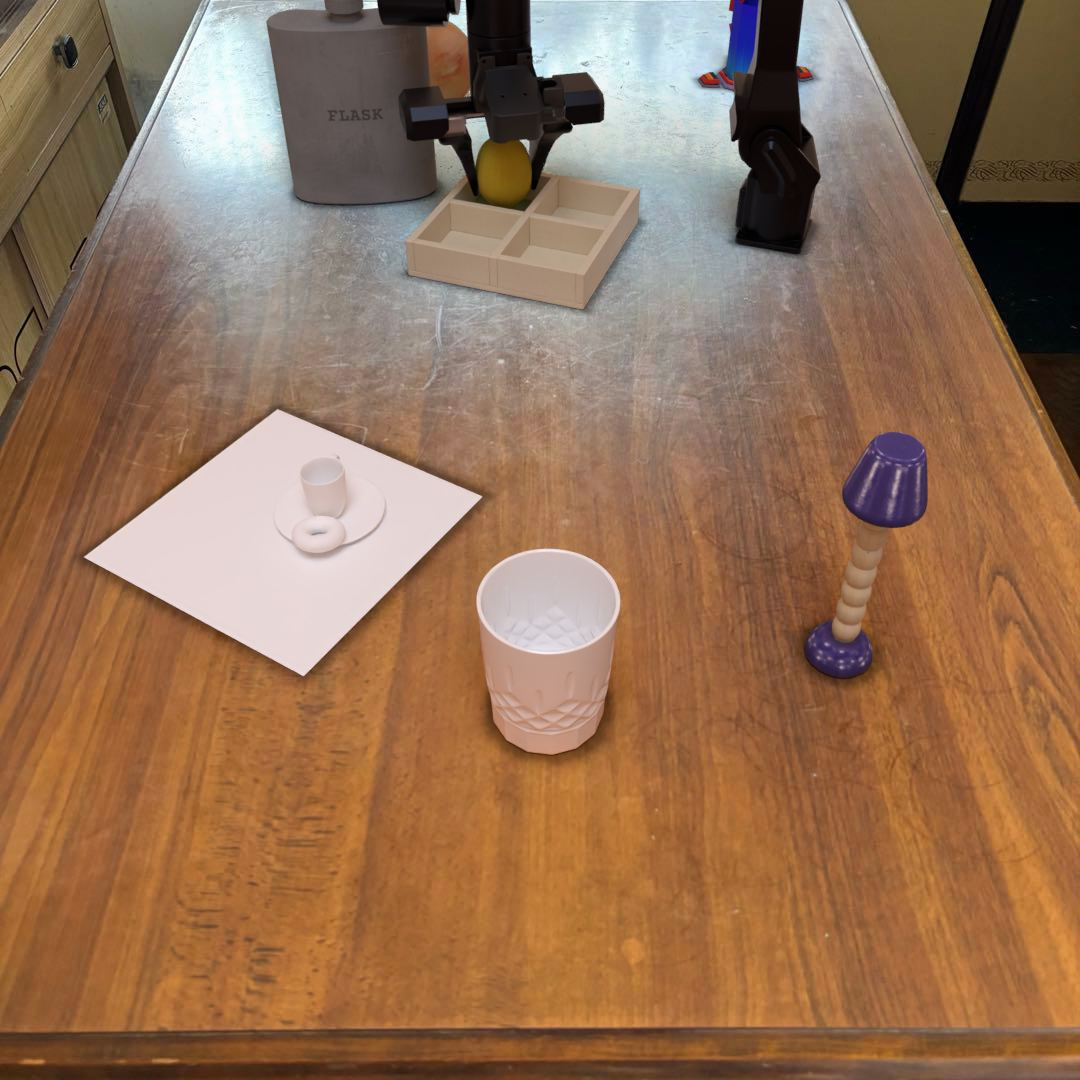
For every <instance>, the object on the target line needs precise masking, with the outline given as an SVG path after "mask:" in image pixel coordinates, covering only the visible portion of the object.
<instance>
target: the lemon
mask: <svg viewBox="0 0 1080 1080" xmlns="http://www.w3.org/2000/svg"><path fill="white" fill-rule="evenodd" d="M475 164H476V167H475V170H476V176H477V181H478V189H479V192H480V193H481V195H482V196H483V198H484V199H485V200H486V201H487V202H488V203H490V204H491V205H493V206H496V207H502V208H507V209H509V208H510V207H513V206H515V205H517V204H519V203H520V202H521V201H522V200H523V199H524V198H525V196H526V195H527V193H528V191H529V189H530V185H531V179H532V167H531V161H530V157H529V150H528V149H527V147H526V146H525V144H524V143H523V142H522V140H515V141H509V142H507V143H503V144H499V143H495V142H493V141H492V140H491V139H490V137H488V138H487V139H486V141H484V142H483V143H482V145H481V146H480V148H479V150H478V153H477V156H476V161H475Z"/></svg>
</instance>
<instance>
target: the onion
mask: <svg viewBox="0 0 1080 1080" xmlns="http://www.w3.org/2000/svg"><path fill="white" fill-rule="evenodd" d="M426 30H427V44H428V59H429V73H430V87H431V86H439V87H440V90H441V92H442V95H443V97H444V99H448V98H458V97H467V95H468V93H469V92H470V81H469V60H468V40H467V34H466V33H465V32H464V31H463V30H461V28H460V27H458V26H457V25H456V24H455V23H453V22H451V21H450V20H449V22H448V25H447V26H446V27H426Z"/></svg>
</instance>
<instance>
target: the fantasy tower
mask: <svg viewBox="0 0 1080 1080" xmlns="http://www.w3.org/2000/svg"><path fill="white" fill-rule="evenodd" d="M758 2H759V0H729V5H728V6H729V7H728V11H729V12H732V15H731V23H728V26H729V41H728V48H727V49H728V51H727V59H726V66H725V67H724V68H721V70H719V71H718V72H717V73H716V74H715V72H714V71H709V72H706V73H704V74H702V75H701V76H700V77H698V79H697V81H698V83H699V84H700V85H701V87H703V88H715V89H716V88H721V86H722V88H723V89H725V90H730V91H734V85H733V72H734V71H737V72H743V73H747V72H748V69H749V67H750V64H751V61H752V58H753V54H754V50H755V38H756V26H757V14H758ZM797 77H798V83H799V82H806V81H807V82H808V81H810V80H814V79H815V78H814V76H813V74H812V72H811V71H810V70H809V69H808V68H807V66H800V65H797Z"/></svg>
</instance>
